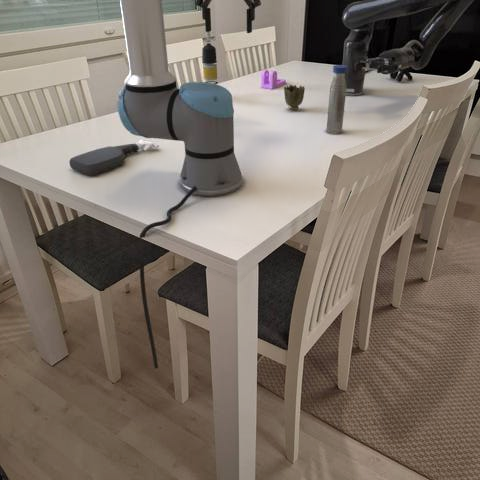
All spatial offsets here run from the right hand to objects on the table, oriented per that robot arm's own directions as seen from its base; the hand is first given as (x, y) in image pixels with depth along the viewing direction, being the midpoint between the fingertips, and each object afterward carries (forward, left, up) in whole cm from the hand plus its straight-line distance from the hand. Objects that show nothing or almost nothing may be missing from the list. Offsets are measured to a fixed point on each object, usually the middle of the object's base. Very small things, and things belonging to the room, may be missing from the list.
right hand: (366, 68), depth 145 cm
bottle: (+17, -7, -16) cm, 25 cm away
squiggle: (-62, +12, -16) cm, 65 cm away
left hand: (+15, -42, +12) cm, 46 cm away
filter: (-11, -59, -16) cm, 62 cm away
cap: (+17, -7, +3) cm, 19 cm away
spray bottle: (+57, -61, -16) cm, 85 cm away
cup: (-3, -24, -16) cm, 29 cm away
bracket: (-39, -40, -16) cm, 58 cm away
